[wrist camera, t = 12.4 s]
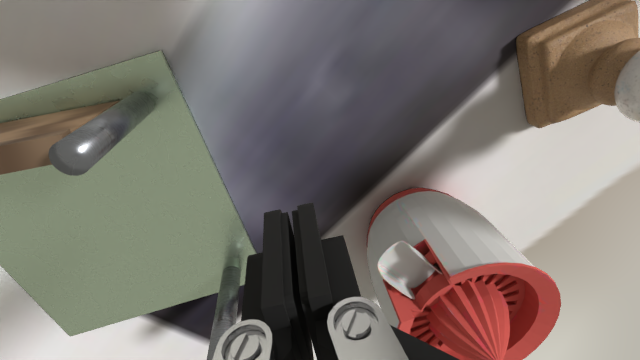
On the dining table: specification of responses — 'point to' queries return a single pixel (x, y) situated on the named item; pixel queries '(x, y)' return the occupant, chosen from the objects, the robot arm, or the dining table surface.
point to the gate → (40, 136)
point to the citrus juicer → (457, 279)
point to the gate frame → (122, 205)
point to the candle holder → (581, 62)
